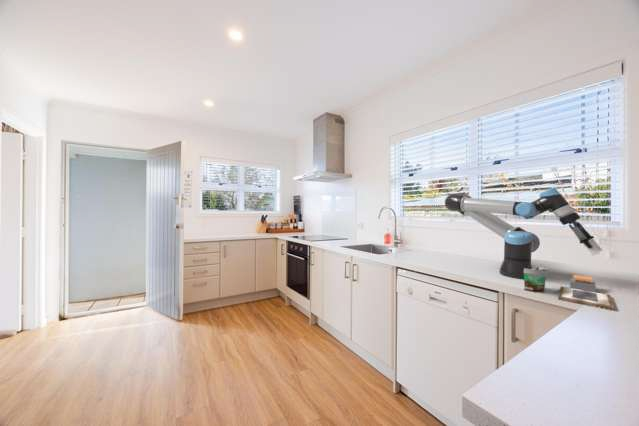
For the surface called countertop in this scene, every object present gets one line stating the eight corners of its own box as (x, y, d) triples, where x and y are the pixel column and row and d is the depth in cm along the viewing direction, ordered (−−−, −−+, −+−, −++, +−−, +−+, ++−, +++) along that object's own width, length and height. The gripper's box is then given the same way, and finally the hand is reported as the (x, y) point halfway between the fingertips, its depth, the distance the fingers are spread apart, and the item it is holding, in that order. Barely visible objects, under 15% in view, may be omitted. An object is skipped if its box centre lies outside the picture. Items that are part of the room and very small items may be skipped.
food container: (539, 295, 109) (540, 271, 109) (522, 290, 115) (523, 268, 114) (553, 290, 115) (554, 268, 115) (536, 286, 120) (537, 265, 120)
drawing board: (558, 299, 104) (558, 296, 104) (560, 288, 118) (560, 285, 118) (614, 310, 94) (614, 307, 94) (609, 297, 108) (610, 294, 108)
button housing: (570, 288, 119) (570, 281, 119) (570, 284, 125) (570, 278, 124) (595, 292, 113) (595, 285, 113) (594, 288, 119) (595, 281, 119)
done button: (572, 284, 119) (573, 277, 119) (573, 281, 123) (573, 274, 123) (593, 288, 114) (593, 280, 114) (592, 284, 119) (592, 277, 119)
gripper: (571, 211, 123) (605, 252, 115) (578, 211, 139) (609, 247, 130) (553, 219, 128) (585, 259, 120) (562, 218, 144) (591, 253, 135)
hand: (597, 252), depth 125 cm, fingers open, 13 cm apart
